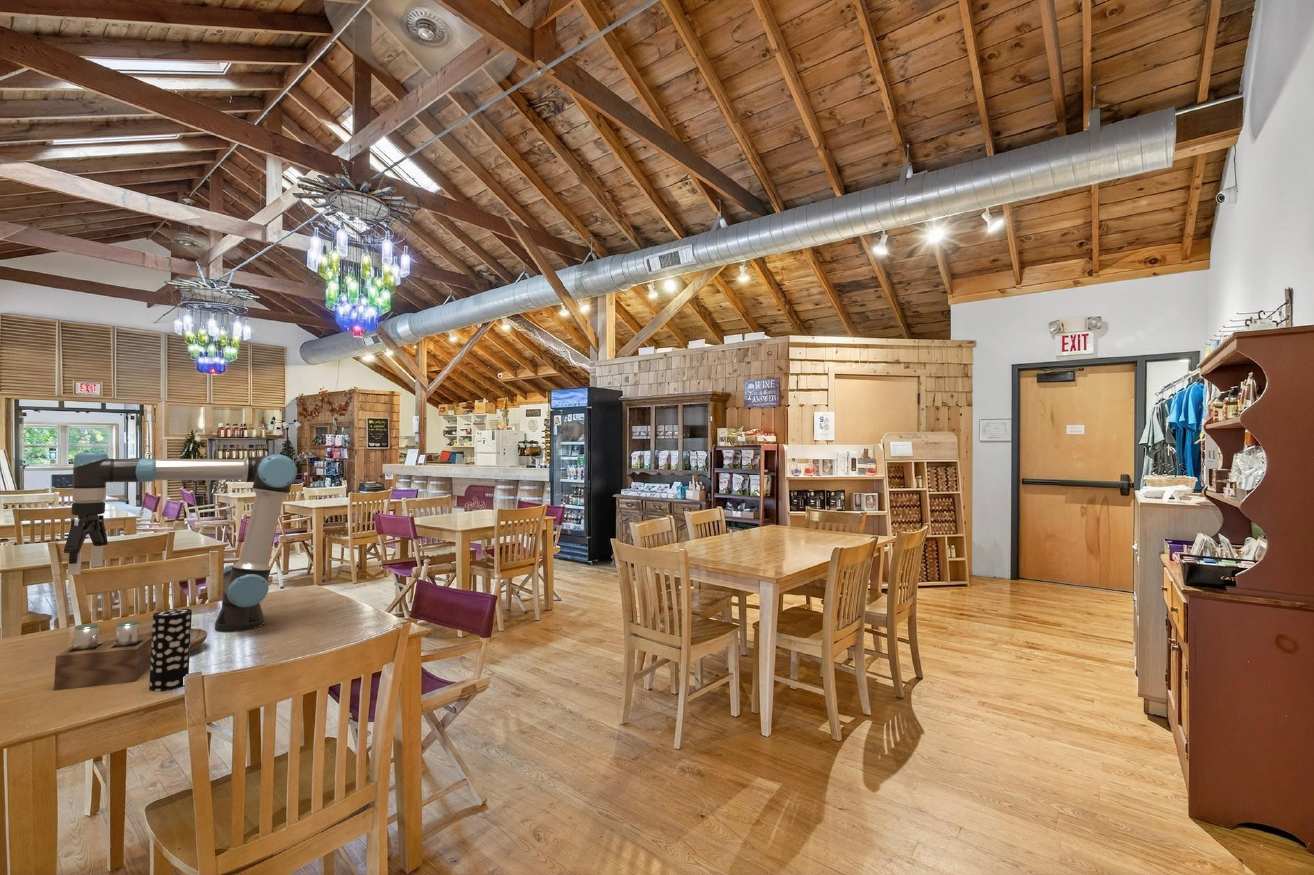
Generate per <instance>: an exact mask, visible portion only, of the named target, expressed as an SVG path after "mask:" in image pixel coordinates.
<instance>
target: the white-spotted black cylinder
mask: <svg viewBox="0 0 1314 875" xmlns="http://www.w3.org/2000/svg"><path fill="white" fill-rule="evenodd" d="M192 613H193V610H192V609H191V608H172V609H166V610H160V611H157V612H155V613H153V614H152V626H151V627H152V629H151V632H152V644H151V663H150V668H149V681H148V682H149V687H148V689H149V691H151V692H165V691H172V690H177V689H179V688H182V687H184V685H183V677H184V676H185V675H186V674H189V673H190V658H191V657H190V656H191V655H190V654H191V653H190V652H191V650H190V638H191V628H192V617H193V616H192V615H193V614H192Z"/></svg>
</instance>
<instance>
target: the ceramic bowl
mask: <svg viewBox="0 0 1314 875" xmlns="http://www.w3.org/2000/svg"><path fill="white" fill-rule="evenodd" d="M145 637H152V631H151V632H147V633H141V634H139V635H138V638H145ZM207 637H208V631H207V630H206V629H202V628H192V627H191V638H190V651H192V650H195V649H196V648H197V647H200V646H201V645H202V644H203V643H204V642H205V641H206V639H207Z"/></svg>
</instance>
